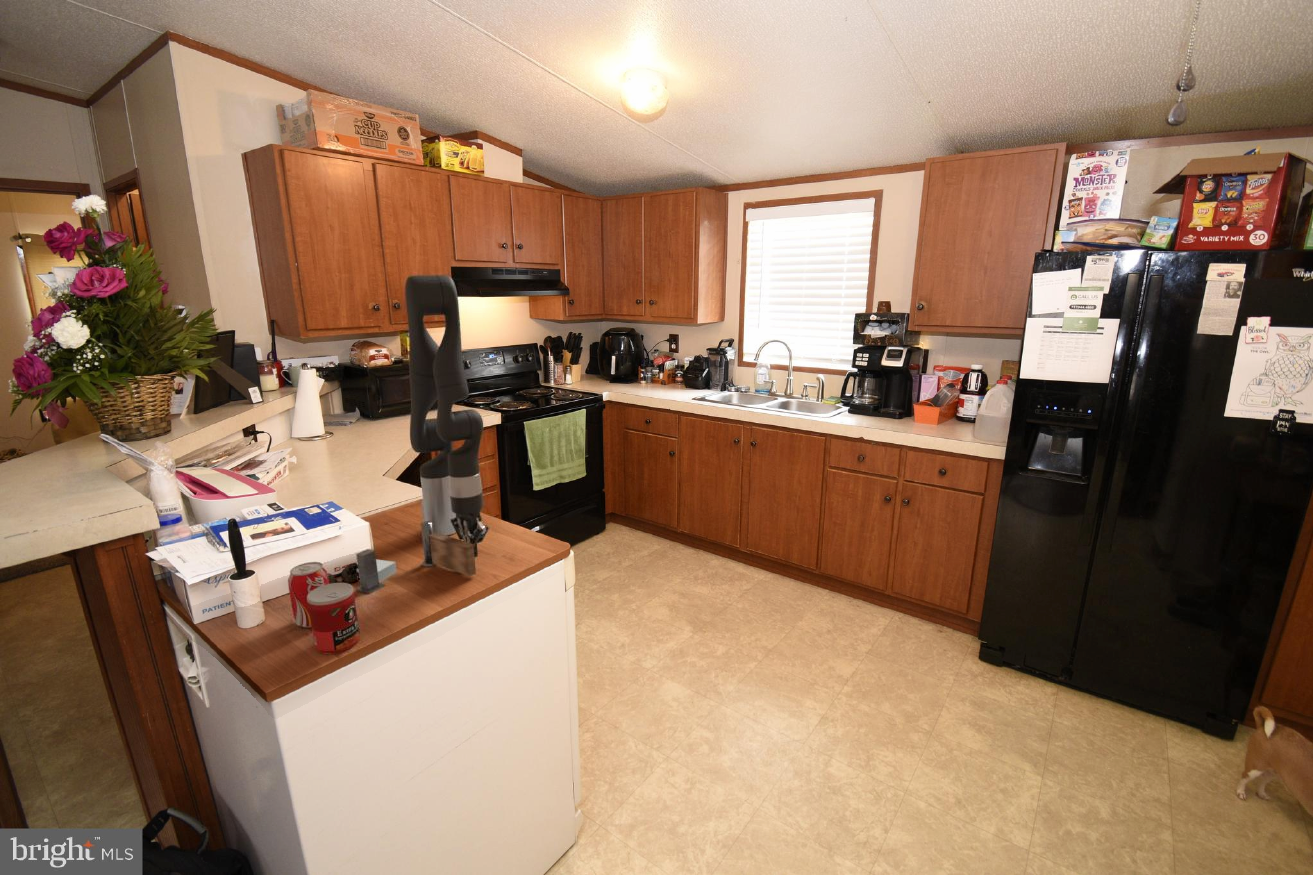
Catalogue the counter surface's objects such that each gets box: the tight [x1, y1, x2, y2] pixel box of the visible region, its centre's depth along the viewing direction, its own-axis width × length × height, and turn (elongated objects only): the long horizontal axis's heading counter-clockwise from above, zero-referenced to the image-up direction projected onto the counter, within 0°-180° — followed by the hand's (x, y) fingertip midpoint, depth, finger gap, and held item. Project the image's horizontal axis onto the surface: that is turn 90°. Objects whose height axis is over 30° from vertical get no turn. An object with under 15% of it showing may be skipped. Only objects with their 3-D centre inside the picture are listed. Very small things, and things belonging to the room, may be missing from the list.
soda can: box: [287, 561, 330, 628], centre depth 116 cm, size 7×7×12 cm
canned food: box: [307, 582, 361, 655], centre depth 109 cm, size 8×8×11 cm
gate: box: [428, 533, 477, 577], centre depth 138 cm, size 14×2×7 cm, turn 58°
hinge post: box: [420, 521, 438, 568], centre depth 142 cm, size 4×4×11 cm
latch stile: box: [355, 548, 385, 595], centre depth 130 cm, size 4×4×9 cm
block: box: [356, 558, 397, 583], centre depth 137 cm, size 6×6×3 cm
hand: (472, 557), depth 142 cm, fingers closed
